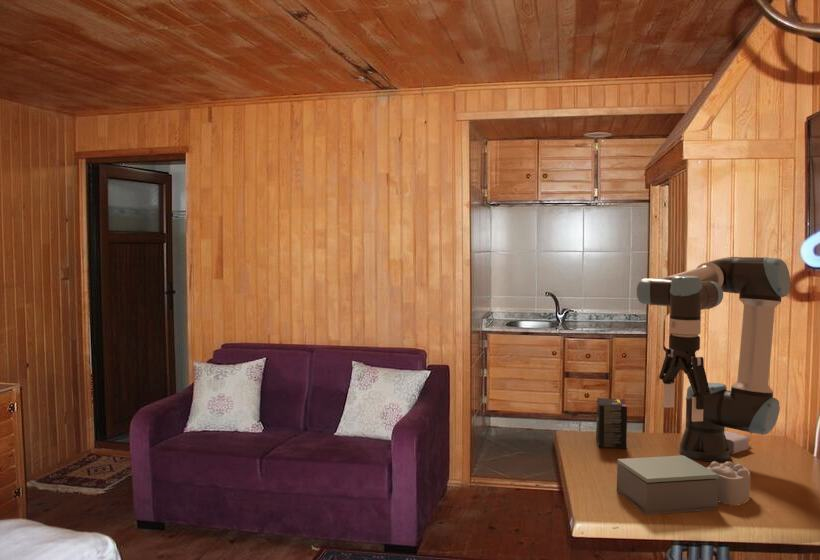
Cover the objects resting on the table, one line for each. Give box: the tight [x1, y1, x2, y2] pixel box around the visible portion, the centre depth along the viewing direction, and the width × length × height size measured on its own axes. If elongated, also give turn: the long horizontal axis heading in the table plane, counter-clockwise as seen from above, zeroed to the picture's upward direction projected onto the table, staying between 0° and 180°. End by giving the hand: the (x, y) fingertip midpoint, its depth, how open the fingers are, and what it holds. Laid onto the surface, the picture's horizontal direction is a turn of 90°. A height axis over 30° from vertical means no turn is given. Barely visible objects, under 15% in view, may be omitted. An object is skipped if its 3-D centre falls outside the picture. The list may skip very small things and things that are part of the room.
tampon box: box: [595, 397, 628, 450], centre depth 229 cm, size 11×9×15 cm
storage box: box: [616, 463, 718, 516], centre depth 180 cm, size 20×16×8 cm
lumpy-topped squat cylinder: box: [706, 460, 752, 506], centre depth 184 cm, size 10×13×9 cm
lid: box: [616, 454, 719, 483], centre depth 180 cm, size 20×16×1 cm
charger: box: [724, 430, 751, 455], centre depth 226 cm, size 5×9×15 cm
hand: (682, 413), depth 178 cm, fingers open, 13 cm apart
